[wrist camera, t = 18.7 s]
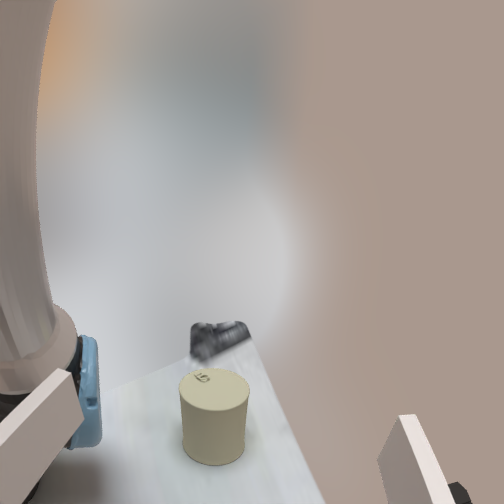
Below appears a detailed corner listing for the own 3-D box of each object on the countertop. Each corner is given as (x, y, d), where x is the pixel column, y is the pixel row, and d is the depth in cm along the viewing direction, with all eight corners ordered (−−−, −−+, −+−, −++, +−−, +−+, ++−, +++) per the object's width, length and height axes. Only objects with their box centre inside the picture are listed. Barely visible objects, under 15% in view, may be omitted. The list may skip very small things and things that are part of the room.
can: (217, 416, 46) (218, 358, 43) (257, 446, 40) (265, 388, 37) (170, 438, 39) (164, 378, 37) (209, 475, 33) (208, 418, 31)
